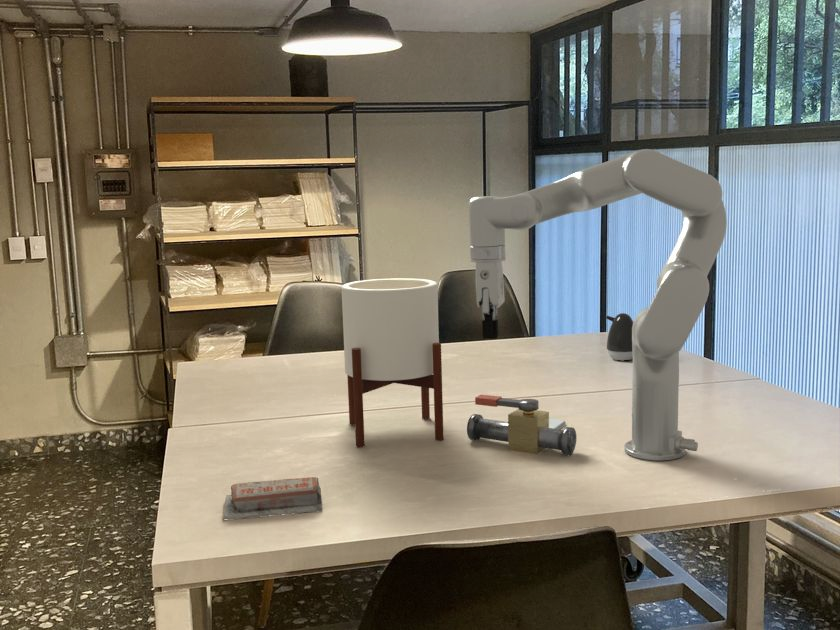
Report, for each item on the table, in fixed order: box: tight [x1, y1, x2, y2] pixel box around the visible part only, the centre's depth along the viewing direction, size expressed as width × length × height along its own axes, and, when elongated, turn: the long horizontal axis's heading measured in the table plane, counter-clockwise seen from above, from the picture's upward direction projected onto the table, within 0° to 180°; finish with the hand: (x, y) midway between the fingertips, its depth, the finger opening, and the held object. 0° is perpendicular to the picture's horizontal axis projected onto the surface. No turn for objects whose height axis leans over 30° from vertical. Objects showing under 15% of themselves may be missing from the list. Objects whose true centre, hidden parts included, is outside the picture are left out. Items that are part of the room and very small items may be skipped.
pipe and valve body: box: [466, 408, 577, 456], centre depth 189 cm, size 24×6×9 cm, turn 57°
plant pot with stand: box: [341, 277, 444, 448], centre depth 202 cm, size 22×22×36 cm
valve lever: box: [474, 394, 540, 411], centre depth 190 cm, size 14×4×2 cm, turn 61°
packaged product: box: [222, 476, 324, 520], centre depth 159 cm, size 18×5×10 cm
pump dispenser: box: [605, 312, 634, 362], centre depth 275 cm, size 10×10×15 cm
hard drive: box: [549, 418, 567, 430], centre depth 203 cm, size 2×8×12 cm
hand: (490, 337), depth 186 cm, fingers closed
